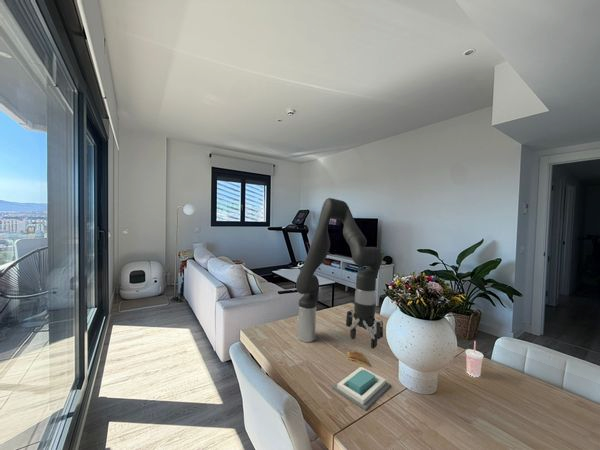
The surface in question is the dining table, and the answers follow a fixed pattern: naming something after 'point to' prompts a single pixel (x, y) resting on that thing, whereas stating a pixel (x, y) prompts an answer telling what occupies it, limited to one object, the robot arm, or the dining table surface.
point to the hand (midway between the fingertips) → (362, 343)
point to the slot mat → (366, 397)
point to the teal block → (361, 382)
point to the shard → (358, 357)
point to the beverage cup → (474, 361)
